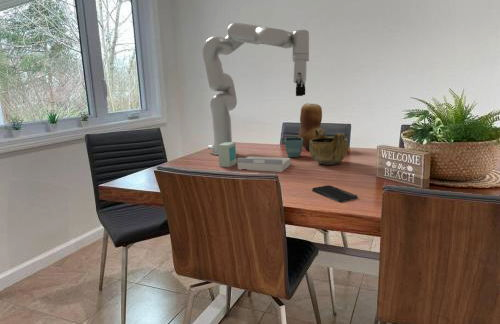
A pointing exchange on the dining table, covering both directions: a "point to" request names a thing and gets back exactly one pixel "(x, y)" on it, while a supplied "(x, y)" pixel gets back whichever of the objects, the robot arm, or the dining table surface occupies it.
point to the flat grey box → (263, 163)
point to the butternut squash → (309, 122)
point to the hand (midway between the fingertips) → (300, 95)
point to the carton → (227, 154)
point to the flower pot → (293, 146)
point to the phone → (334, 193)
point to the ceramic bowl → (328, 148)
